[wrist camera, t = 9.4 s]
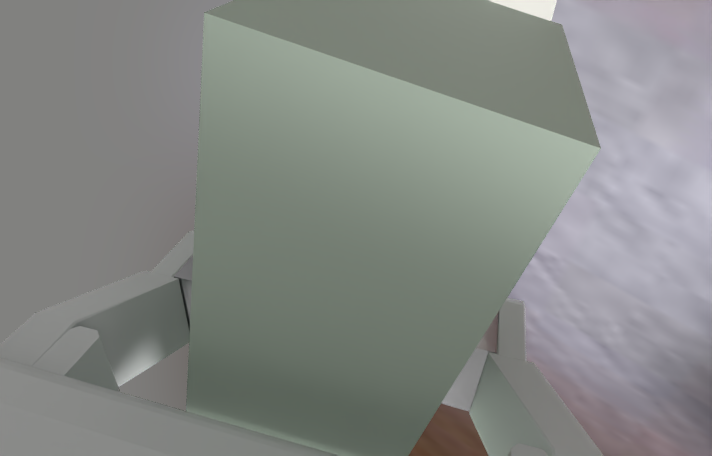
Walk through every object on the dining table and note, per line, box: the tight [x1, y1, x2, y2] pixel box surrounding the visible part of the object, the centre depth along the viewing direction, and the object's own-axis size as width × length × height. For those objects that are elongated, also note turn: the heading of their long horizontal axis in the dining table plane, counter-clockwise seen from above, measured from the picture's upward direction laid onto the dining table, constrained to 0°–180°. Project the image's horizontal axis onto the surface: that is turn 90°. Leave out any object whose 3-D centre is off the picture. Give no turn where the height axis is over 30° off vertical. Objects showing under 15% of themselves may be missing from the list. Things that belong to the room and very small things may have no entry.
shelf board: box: [186, 0, 601, 456], centre depth 10 cm, size 12×4×5 cm, turn 166°
